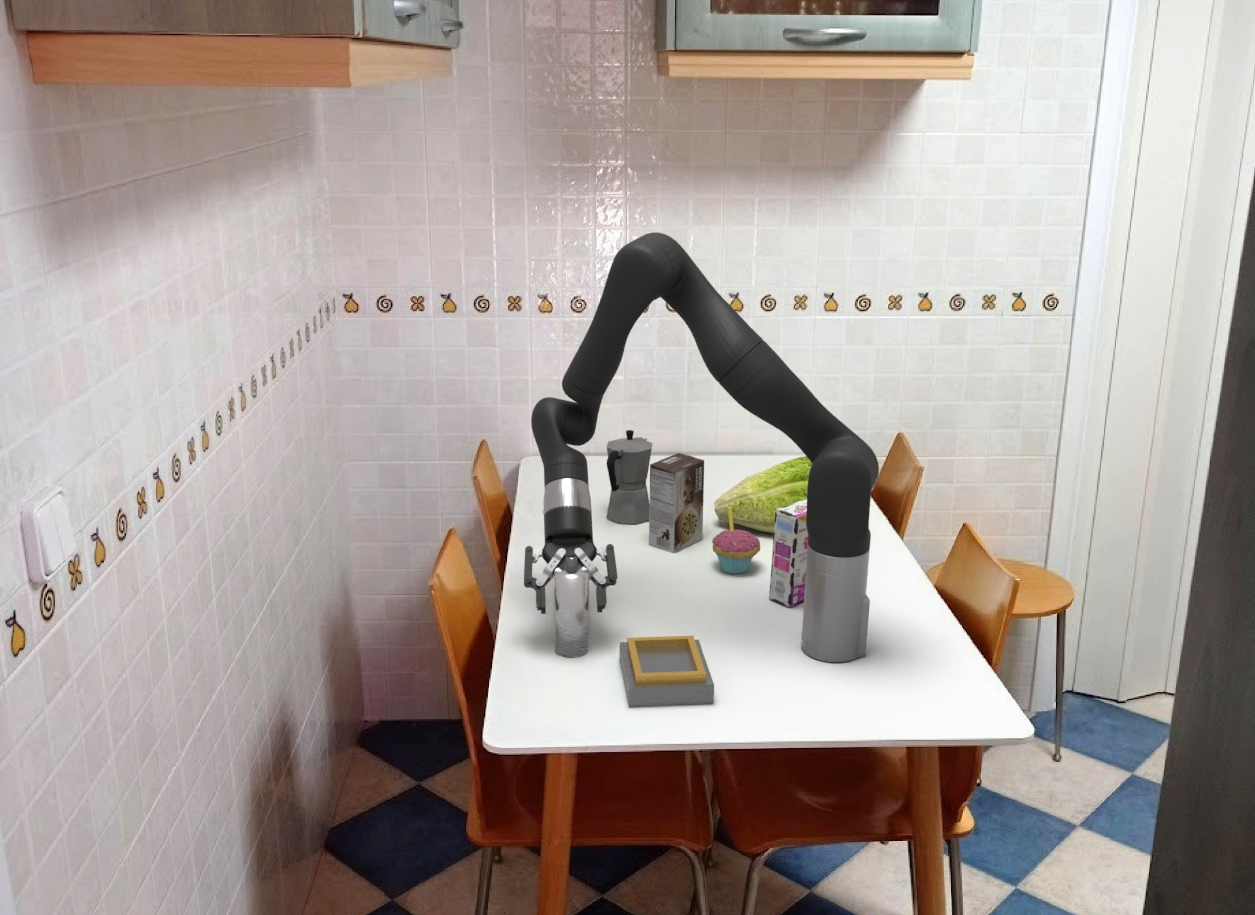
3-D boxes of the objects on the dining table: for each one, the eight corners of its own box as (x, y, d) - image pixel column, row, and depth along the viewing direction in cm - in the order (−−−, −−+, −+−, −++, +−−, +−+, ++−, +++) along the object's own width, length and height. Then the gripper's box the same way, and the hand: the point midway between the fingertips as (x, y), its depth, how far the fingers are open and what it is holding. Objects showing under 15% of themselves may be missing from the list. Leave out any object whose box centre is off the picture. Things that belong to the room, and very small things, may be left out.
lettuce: (725, 564, 229) (733, 543, 245) (850, 530, 224) (850, 511, 239) (701, 491, 228) (711, 475, 243) (827, 455, 222) (828, 441, 238)
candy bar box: (791, 609, 200) (797, 517, 195) (768, 600, 203) (773, 509, 198) (832, 590, 207) (838, 501, 202) (808, 581, 211) (814, 493, 205)
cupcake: (701, 568, 215) (703, 505, 212) (731, 555, 221) (733, 494, 218) (739, 582, 210) (742, 518, 206) (768, 568, 216) (772, 505, 212)
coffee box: (676, 531, 232) (678, 451, 227) (703, 539, 228) (706, 459, 223) (646, 545, 226) (648, 463, 220) (674, 553, 222) (676, 471, 217)
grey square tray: (697, 657, 183) (698, 632, 182) (713, 703, 170) (714, 677, 169) (619, 660, 182) (619, 635, 181) (628, 707, 169) (629, 680, 167)
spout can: (587, 641, 188) (587, 549, 183) (589, 656, 183) (590, 563, 178) (553, 642, 187) (553, 550, 182) (555, 658, 182) (555, 564, 178)
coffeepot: (622, 502, 247) (623, 418, 241) (664, 510, 243) (666, 425, 237) (586, 527, 234) (586, 438, 228) (630, 535, 230) (631, 445, 224)
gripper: (522, 504, 185) (524, 604, 178) (614, 502, 187) (620, 601, 179) (522, 524, 192) (524, 621, 185) (611, 522, 193) (617, 618, 186)
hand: (571, 611), depth 182 cm, fingers open, 8 cm apart
